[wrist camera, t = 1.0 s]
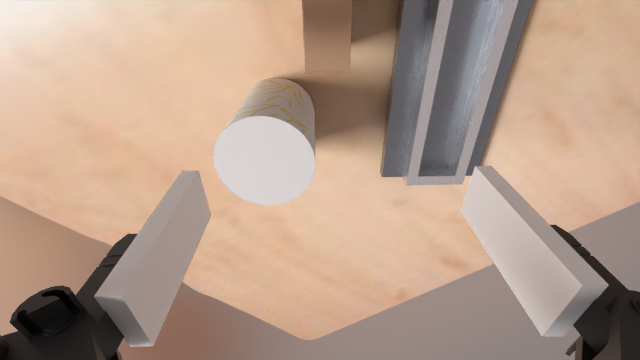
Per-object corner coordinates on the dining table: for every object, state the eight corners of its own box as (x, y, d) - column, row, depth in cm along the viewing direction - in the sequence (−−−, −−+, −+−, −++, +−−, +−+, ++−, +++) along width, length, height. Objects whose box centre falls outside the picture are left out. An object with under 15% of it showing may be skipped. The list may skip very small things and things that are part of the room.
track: (405, -38, 26) (416, -42, 24) (536, -39, 26) (562, -43, 24) (380, 172, 38) (385, 185, 35) (471, 170, 38) (483, 183, 35)
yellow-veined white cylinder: (316, 80, 32) (318, 119, 21) (312, 147, 36) (312, 206, 26) (241, 75, 31) (206, 112, 21) (246, 144, 36) (219, 203, 25)
